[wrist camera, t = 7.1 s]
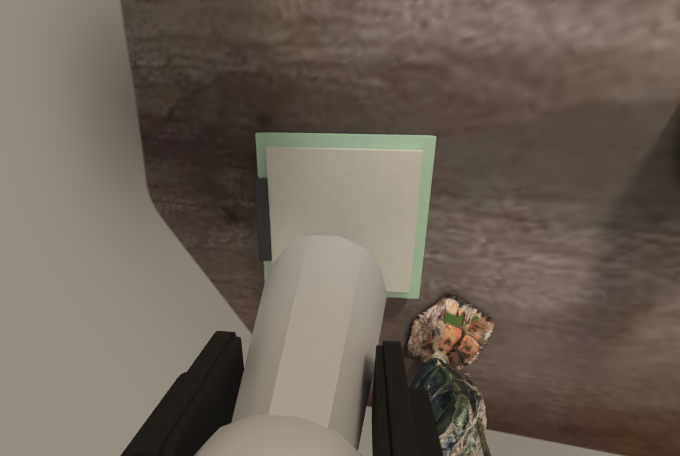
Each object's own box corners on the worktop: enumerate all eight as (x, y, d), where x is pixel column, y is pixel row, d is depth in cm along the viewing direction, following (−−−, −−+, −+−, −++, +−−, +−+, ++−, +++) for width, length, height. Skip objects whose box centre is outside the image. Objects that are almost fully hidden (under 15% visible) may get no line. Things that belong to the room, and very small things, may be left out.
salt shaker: (282, 314, 18) (117, 697, 6) (274, 221, 17) (18, 494, 4) (382, 317, 18) (423, 734, 6) (385, 221, 16) (452, 526, 4)
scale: (264, 132, 27) (250, 133, 24) (430, 135, 26) (439, 136, 23) (272, 279, 31) (262, 296, 28) (414, 286, 30) (420, 305, 27)
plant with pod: (371, 346, 33) (381, 647, 14) (457, 279, 30) (619, 549, 11) (423, 392, 34) (495, 722, 15) (510, 333, 31) (735, 653, 12)
